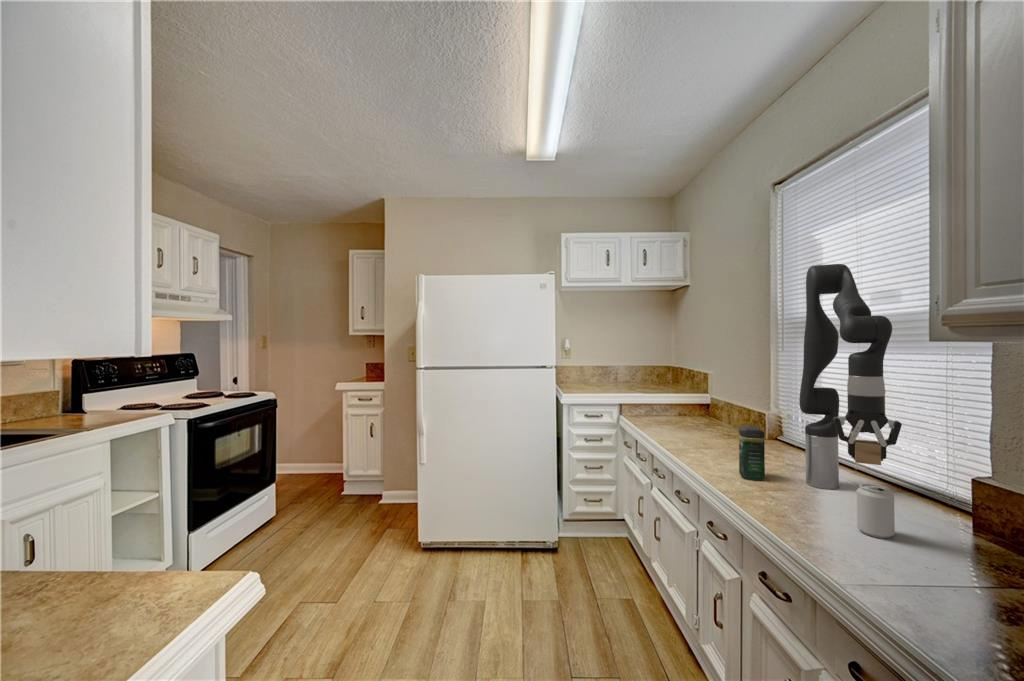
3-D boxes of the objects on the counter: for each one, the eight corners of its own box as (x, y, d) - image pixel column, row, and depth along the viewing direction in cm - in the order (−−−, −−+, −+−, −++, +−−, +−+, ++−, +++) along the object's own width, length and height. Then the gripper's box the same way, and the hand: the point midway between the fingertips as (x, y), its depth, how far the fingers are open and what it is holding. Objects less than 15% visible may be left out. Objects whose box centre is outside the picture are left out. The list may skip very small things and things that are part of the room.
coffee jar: (767, 481, 153) (766, 429, 153) (742, 480, 155) (741, 428, 155) (760, 473, 162) (760, 423, 162) (737, 472, 164) (736, 423, 164)
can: (902, 540, 108) (901, 492, 108) (867, 538, 109) (866, 490, 109) (883, 528, 115) (882, 482, 115) (850, 526, 116) (850, 481, 116)
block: (853, 457, 116) (852, 439, 116) (877, 460, 113) (877, 441, 113) (855, 462, 112) (855, 443, 112) (881, 465, 109) (880, 445, 109)
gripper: (899, 392, 112) (899, 459, 112) (830, 390, 119) (830, 452, 119) (906, 396, 105) (907, 466, 106) (832, 393, 113) (833, 458, 113)
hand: (866, 458), depth 112 cm, fingers closed on block, 5 cm apart
